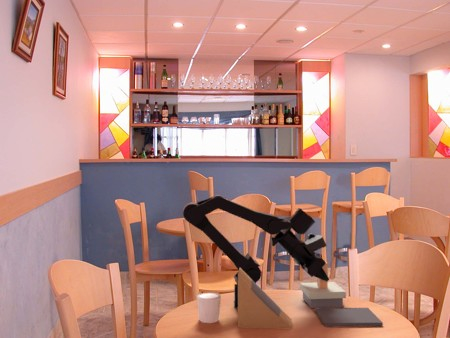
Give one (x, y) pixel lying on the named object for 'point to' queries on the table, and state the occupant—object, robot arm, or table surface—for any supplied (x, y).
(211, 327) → the table surface
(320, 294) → the lid
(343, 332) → the table surface
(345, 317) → the mat
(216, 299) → the white cup
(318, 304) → the grey square block
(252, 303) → the sandwich container
